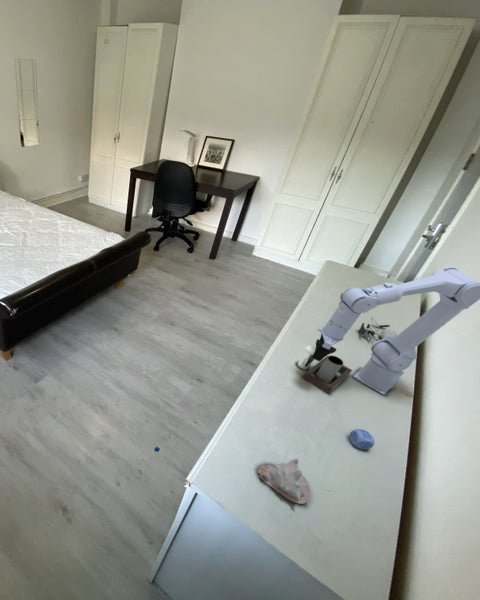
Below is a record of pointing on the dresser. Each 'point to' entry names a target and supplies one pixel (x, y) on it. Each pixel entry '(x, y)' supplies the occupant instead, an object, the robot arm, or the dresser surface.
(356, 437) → the decorative dice
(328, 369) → the grey hollow cylinder
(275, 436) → the dresser surface
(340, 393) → the dresser surface
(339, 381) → the holder
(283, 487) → the seashell
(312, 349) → the milkshake
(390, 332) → the clip-on lamp
